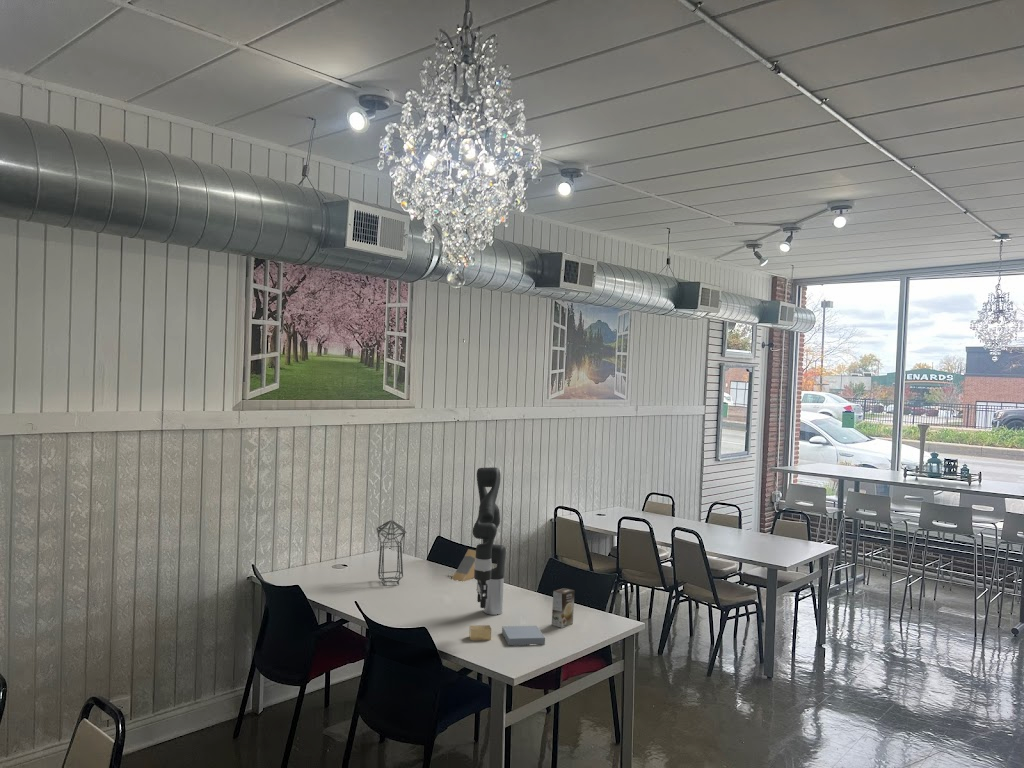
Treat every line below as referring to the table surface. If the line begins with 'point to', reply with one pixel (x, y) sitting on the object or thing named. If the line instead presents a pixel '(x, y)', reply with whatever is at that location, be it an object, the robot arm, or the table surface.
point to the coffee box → (563, 607)
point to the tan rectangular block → (480, 632)
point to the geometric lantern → (390, 546)
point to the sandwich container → (466, 567)
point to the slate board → (523, 635)
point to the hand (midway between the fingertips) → (481, 604)
